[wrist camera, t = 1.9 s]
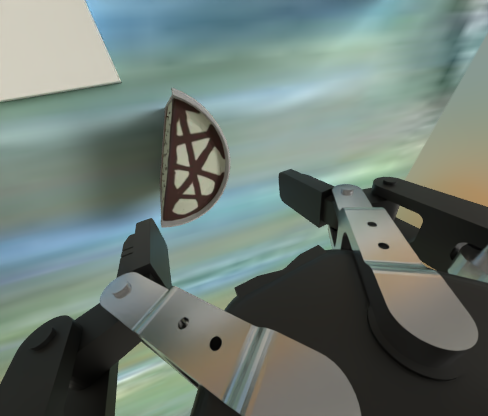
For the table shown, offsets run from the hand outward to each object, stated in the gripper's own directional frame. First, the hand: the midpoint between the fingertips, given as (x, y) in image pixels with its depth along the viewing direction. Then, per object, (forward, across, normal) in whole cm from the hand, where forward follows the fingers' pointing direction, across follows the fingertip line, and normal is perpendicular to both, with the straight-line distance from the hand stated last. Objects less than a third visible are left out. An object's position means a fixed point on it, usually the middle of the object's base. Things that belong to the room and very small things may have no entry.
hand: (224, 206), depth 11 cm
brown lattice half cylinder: (+17, 0, 0) cm, 17 cm away
